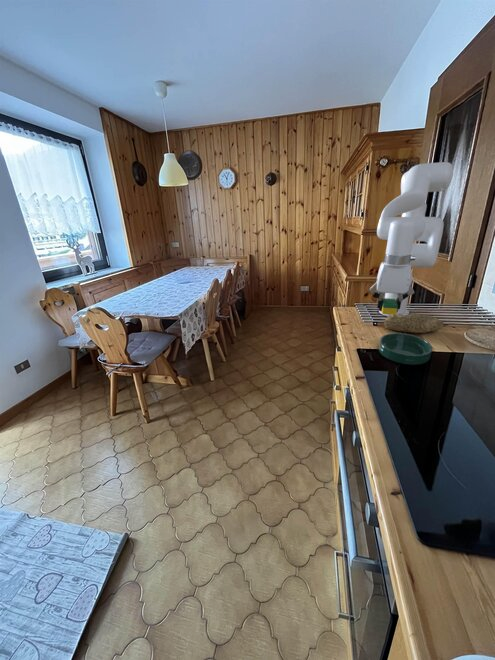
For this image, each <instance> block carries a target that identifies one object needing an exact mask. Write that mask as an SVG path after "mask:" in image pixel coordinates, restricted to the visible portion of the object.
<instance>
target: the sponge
mask: <svg viewBox="0 0 495 660" xmlns="http://www.w3.org/2000/svg"><path fill="white" fill-rule="evenodd" d="M386 317H387V318H385V319H384V322H383V323H384V324H383V325H384V328H385V329H387V330H389V331H396V332H403V333H411V334H412V333H414V334H426V333H430V332H438V331H440V330H442V329H443V328H444V324H445V322H444V321H442V320H440V318H438V317H435V316H431V315H427V314H421V313H409V314H408V315H402V314H397V315H388V316H386Z"/></svg>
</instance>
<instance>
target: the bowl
mask: <svg viewBox="0 0 495 660" xmlns="http://www.w3.org/2000/svg"><path fill="white" fill-rule="evenodd" d="M377 347H378V352H379V354H381V356H383V357H384V358H386V359H388V360H390V361H392V362H395V363H398V364H403V365H411V366H412V365H414V366H416V365H422V364H426V363H427V362H429V361H430V360H431V357H432V352H433V346H432V344H431V343H430V342H429V341H428V340H426V339H424V338H422V337H420V336H417V335H414V334H409V333H404V332H403V333H401V332H400V333H399V332H392V333H387V334H384V335H382V336H381V337H380V338H379V341H378V346H377Z"/></svg>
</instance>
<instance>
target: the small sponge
mask: <svg viewBox="0 0 495 660" xmlns="http://www.w3.org/2000/svg"><path fill="white" fill-rule="evenodd" d="M397 308H398V305H397V303H396V301H395V299H387V298H385V297H383V305H382V311H381V312H382V314H389V315H396V313H397ZM382 314H381V315H382Z"/></svg>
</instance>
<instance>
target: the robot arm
mask: <svg viewBox="0 0 495 660" xmlns="http://www.w3.org/2000/svg"><path fill="white" fill-rule="evenodd" d="M453 176H454V166H453V164H452V163H451V162H448V161H441V162H428V163H419V164H416V165H413V166H412V167H411V168H409V169H408V171H406V172H405V173H403V174H402V176H401V181H400V195H398V196H397V197H395V198H394V199H392V200H391V201H390V202H389V203H388V204H386V205H385V207H384V208H383V210H382V212H381V214H380V217H379V220H378V224H377V226H376V227H377V228H376V235H377V237H378V239H380V240H383V241H387V243H386V248H385V254H384V259H383V260H384V261H382V262H381V263H380V265H379V269H378V273H377V275H376V276H377V277H376V282H375V283H374V284H373V285H371V287H370V288H369V289H368V290H369V292H370V294H372V295H374V297H375V298H376V299H377V303H376V308H377V309H378V312H379V314H381V315H383V316H384V317H388V315H389V314H382V312H381V311H382V305H383V298H387V299H395V301H396V303H397V305H398V308H397V313H396V315H397V314H402V315H408V314H410V311H409V310H408V309H407V307H408V301H409V297H410V296H412V295H414V294H415V290H414V289H413V287H412V282H413V274H412V268H421V269H423V268H424V269H425V268H426V269H427V268H428V269H430V268H433V267H434V266H435V264H436V262H437V260H438V256H439V251H440V247H441V242H442V237H443V233H444V226H445V225H444V223H445V222H444V220H443V219H442V218H441V217H438V216H426V212H427V208H428V205H427V202H426V201H427V198H428V194H429V193H434V192H444V191H447V190H448V188H449V187H450V185H451V183H452V180H453ZM400 215H401V216H400ZM417 242H426V243H417Z"/></svg>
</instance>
